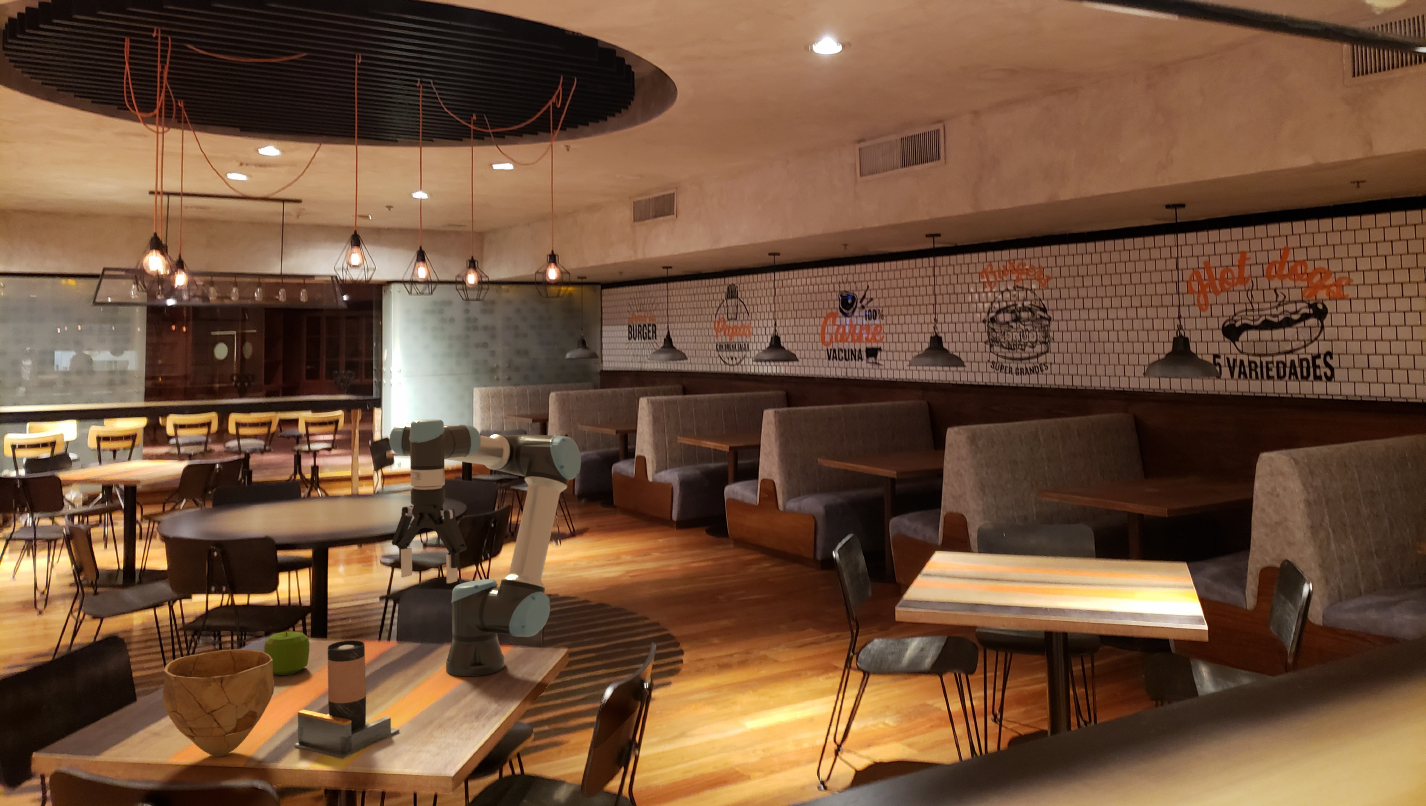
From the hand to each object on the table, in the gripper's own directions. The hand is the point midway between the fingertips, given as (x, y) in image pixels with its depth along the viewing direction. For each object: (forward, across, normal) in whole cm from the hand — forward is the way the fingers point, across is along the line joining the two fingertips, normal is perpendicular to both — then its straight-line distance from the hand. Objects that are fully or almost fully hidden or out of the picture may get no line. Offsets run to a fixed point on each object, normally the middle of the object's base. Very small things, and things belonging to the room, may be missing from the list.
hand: (429, 579), depth 224 cm
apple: (+32, -57, +8) cm, 66 cm away
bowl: (+32, -23, -37) cm, 54 cm away
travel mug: (+31, -6, -19) cm, 37 cm away
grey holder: (+32, -6, -19) cm, 37 cm away
